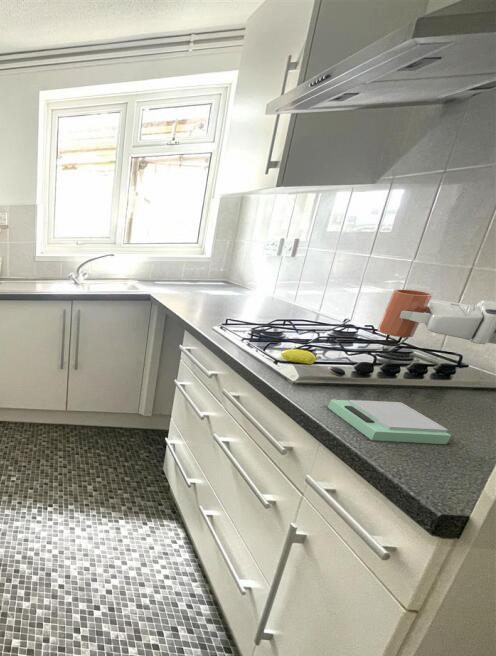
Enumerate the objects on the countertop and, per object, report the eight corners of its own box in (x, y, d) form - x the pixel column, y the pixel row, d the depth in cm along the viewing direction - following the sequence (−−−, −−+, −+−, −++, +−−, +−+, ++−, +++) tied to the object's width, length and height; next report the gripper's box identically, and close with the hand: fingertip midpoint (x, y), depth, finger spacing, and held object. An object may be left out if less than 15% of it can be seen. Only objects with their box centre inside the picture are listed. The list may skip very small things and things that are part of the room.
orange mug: (398, 329, 105) (416, 289, 100) (420, 337, 99) (440, 296, 94) (370, 328, 105) (386, 289, 101) (391, 337, 99) (409, 295, 95)
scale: (391, 412, 89) (397, 399, 88) (445, 446, 78) (453, 432, 76) (326, 409, 90) (331, 396, 89) (370, 442, 79) (377, 428, 78)
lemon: (314, 368, 111) (319, 354, 109) (278, 362, 115) (283, 348, 113) (313, 363, 114) (318, 349, 112) (278, 357, 118) (282, 344, 116)
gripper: (482, 298, 98) (403, 289, 106) (501, 317, 84) (407, 305, 92) (469, 324, 100) (392, 313, 109) (484, 346, 86) (395, 332, 94)
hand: (399, 310), depth 100 cm, fingers closed on orange mug, 7 cm apart
